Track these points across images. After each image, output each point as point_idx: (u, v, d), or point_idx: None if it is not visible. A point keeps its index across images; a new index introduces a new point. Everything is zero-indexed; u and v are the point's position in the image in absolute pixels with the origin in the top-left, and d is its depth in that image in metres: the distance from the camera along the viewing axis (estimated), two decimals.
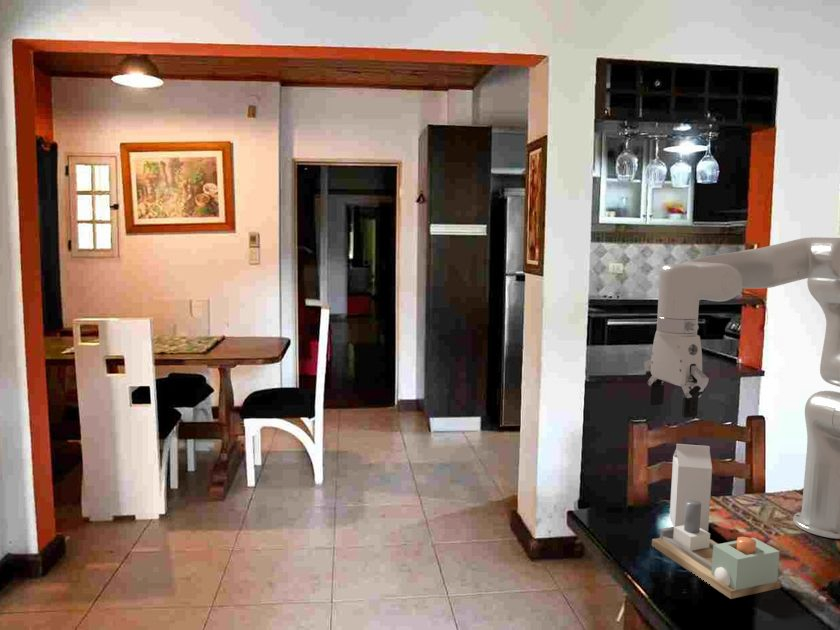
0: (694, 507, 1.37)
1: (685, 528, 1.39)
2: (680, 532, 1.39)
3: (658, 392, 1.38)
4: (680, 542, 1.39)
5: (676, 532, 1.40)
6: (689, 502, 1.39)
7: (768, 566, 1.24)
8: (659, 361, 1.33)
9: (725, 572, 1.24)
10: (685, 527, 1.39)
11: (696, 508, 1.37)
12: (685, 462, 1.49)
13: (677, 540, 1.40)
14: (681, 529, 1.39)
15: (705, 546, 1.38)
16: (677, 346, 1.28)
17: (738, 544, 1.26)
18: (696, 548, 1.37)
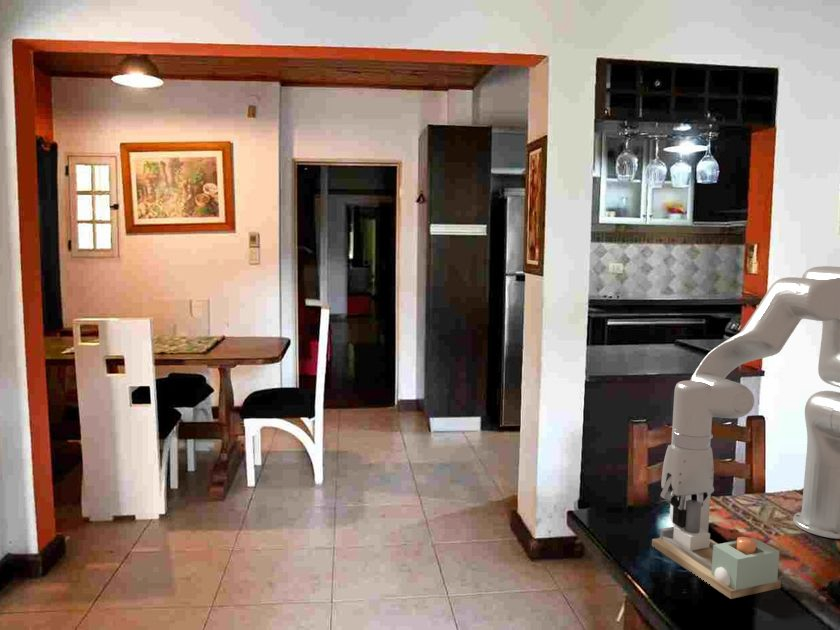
0: (694, 507, 1.37)
1: (685, 528, 1.39)
2: (680, 532, 1.39)
3: None
4: (680, 542, 1.39)
5: (676, 532, 1.40)
6: (689, 502, 1.39)
7: (768, 566, 1.24)
8: (690, 478, 1.37)
9: (725, 572, 1.24)
10: (685, 527, 1.39)
11: (696, 508, 1.37)
12: None
13: (677, 540, 1.40)
14: (681, 529, 1.39)
15: (705, 546, 1.38)
16: (709, 458, 1.38)
17: (738, 544, 1.26)
18: (696, 548, 1.37)
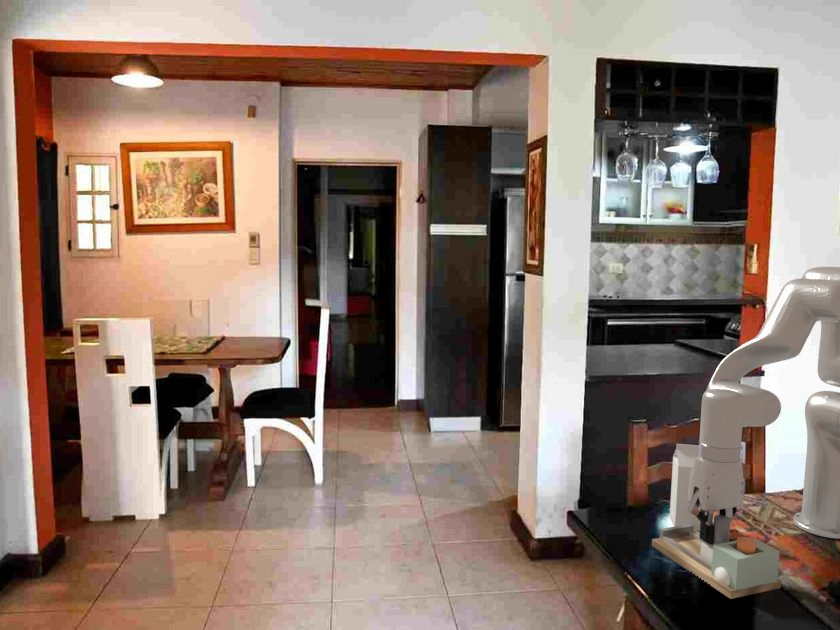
0: (723, 522, 1.30)
1: None
2: (708, 549, 1.32)
3: None
4: (708, 560, 1.32)
5: (704, 549, 1.33)
6: (718, 517, 1.31)
7: (768, 566, 1.24)
8: (719, 492, 1.29)
9: (725, 572, 1.24)
10: (713, 544, 1.32)
11: (725, 524, 1.30)
12: (685, 462, 1.49)
13: (705, 557, 1.32)
14: (709, 546, 1.32)
15: None
16: (739, 471, 1.31)
17: (738, 544, 1.26)
18: None
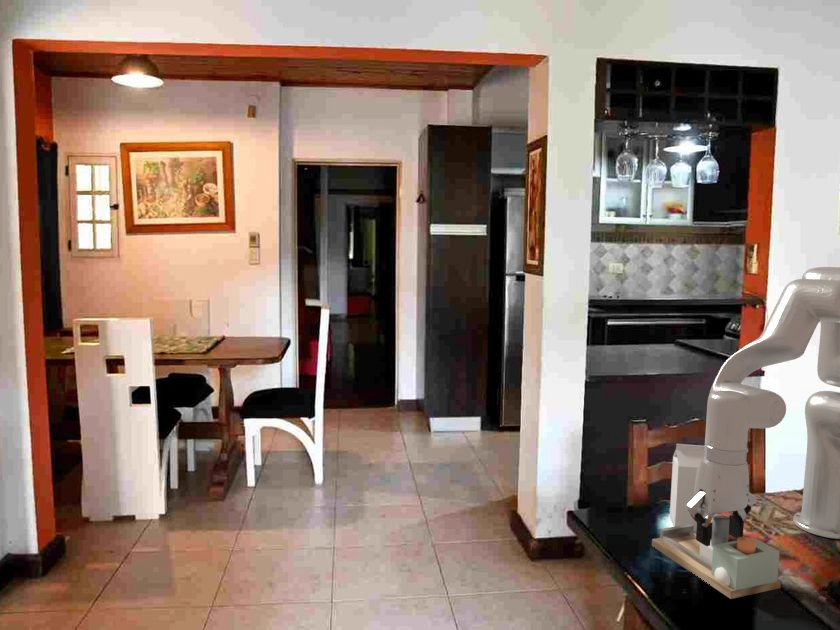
0: (722, 522, 1.30)
1: (712, 544, 1.32)
2: (707, 548, 1.32)
3: None
4: (707, 559, 1.32)
5: (703, 548, 1.33)
6: (717, 517, 1.32)
7: (768, 566, 1.24)
8: (725, 495, 1.28)
9: (725, 572, 1.24)
10: (712, 543, 1.32)
11: (724, 523, 1.30)
12: (685, 462, 1.49)
13: (704, 557, 1.33)
14: (708, 546, 1.32)
15: None
16: (745, 473, 1.29)
17: (738, 544, 1.26)
18: None
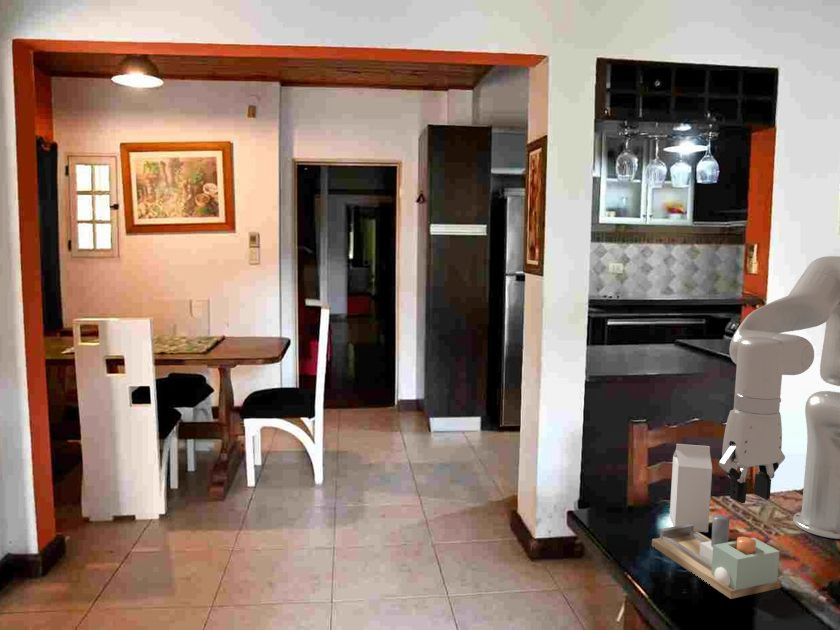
0: (722, 522, 1.30)
1: (712, 544, 1.32)
2: (707, 548, 1.32)
3: None
4: (707, 559, 1.32)
5: (703, 548, 1.33)
6: (717, 517, 1.32)
7: (768, 566, 1.24)
8: (757, 447, 1.21)
9: (725, 572, 1.24)
10: (712, 543, 1.32)
11: (724, 523, 1.30)
12: (685, 462, 1.49)
13: (704, 557, 1.33)
14: (708, 546, 1.32)
15: None
16: (778, 424, 1.22)
17: (738, 544, 1.26)
18: None
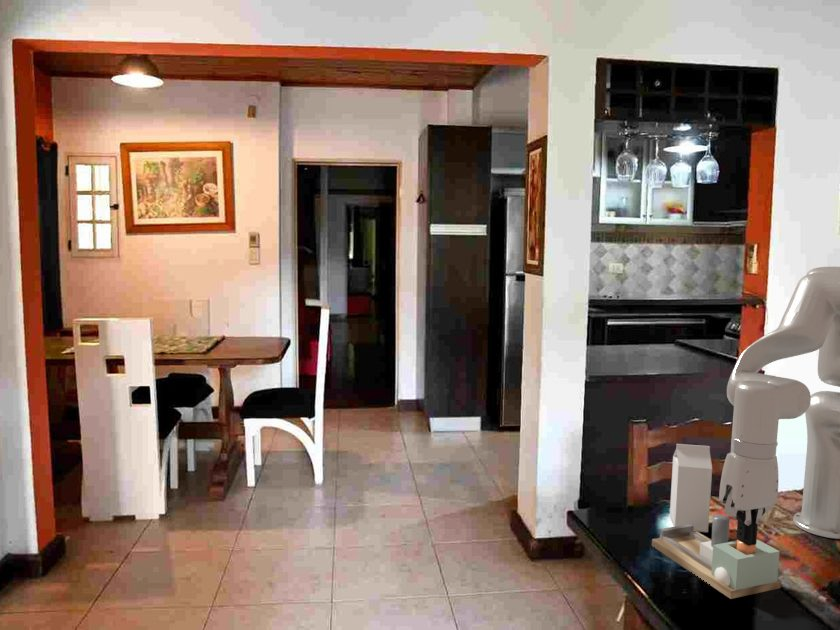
0: (722, 522, 1.30)
1: (712, 544, 1.32)
2: (707, 548, 1.32)
3: None
4: (707, 559, 1.32)
5: (703, 548, 1.33)
6: (717, 517, 1.32)
7: (768, 566, 1.24)
8: (753, 491, 1.21)
9: (725, 572, 1.24)
10: (712, 543, 1.32)
11: (724, 523, 1.30)
12: (685, 462, 1.49)
13: (704, 557, 1.33)
14: (708, 546, 1.32)
15: None
16: (774, 468, 1.23)
17: (738, 545, 1.26)
18: None
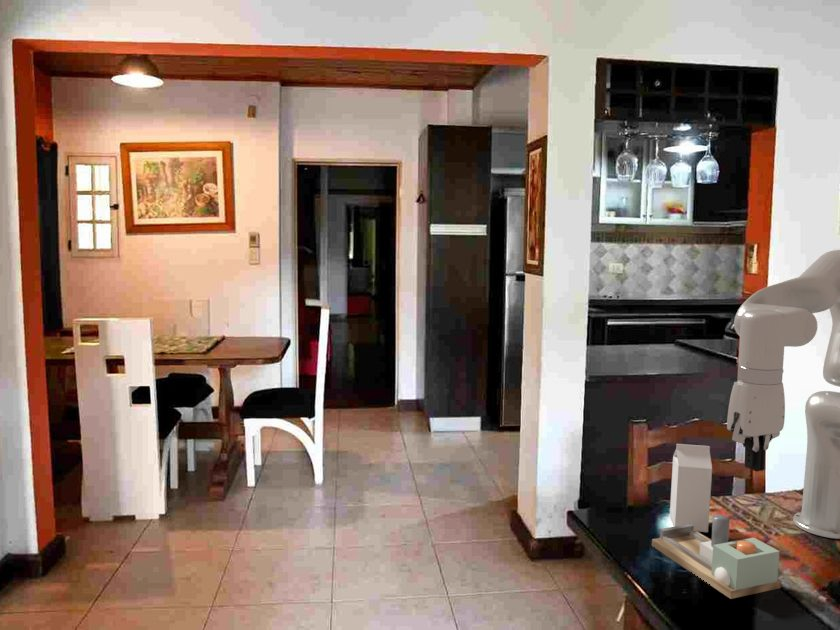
0: (722, 522, 1.30)
1: (712, 544, 1.32)
2: (707, 548, 1.32)
3: None
4: (707, 559, 1.32)
5: (703, 548, 1.33)
6: (717, 517, 1.32)
7: (768, 566, 1.24)
8: (761, 417, 1.23)
9: (725, 572, 1.24)
10: (712, 543, 1.32)
11: (724, 523, 1.30)
12: (685, 462, 1.49)
13: (704, 557, 1.33)
14: (708, 546, 1.32)
15: None
16: (781, 394, 1.25)
17: (738, 548, 1.26)
18: None
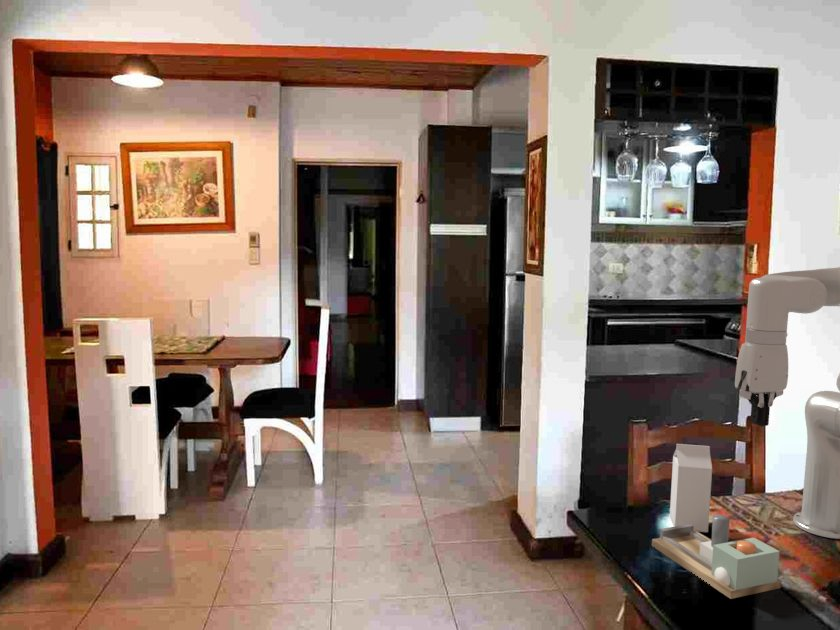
0: (722, 522, 1.30)
1: (712, 544, 1.32)
2: (707, 548, 1.32)
3: None
4: (707, 559, 1.32)
5: (703, 548, 1.33)
6: (717, 517, 1.32)
7: (768, 566, 1.24)
8: (766, 375, 1.35)
9: (725, 572, 1.24)
10: (712, 543, 1.32)
11: (724, 523, 1.30)
12: (685, 462, 1.49)
13: (704, 557, 1.33)
14: (708, 546, 1.32)
15: None
16: (784, 355, 1.36)
17: (738, 548, 1.26)
18: None
